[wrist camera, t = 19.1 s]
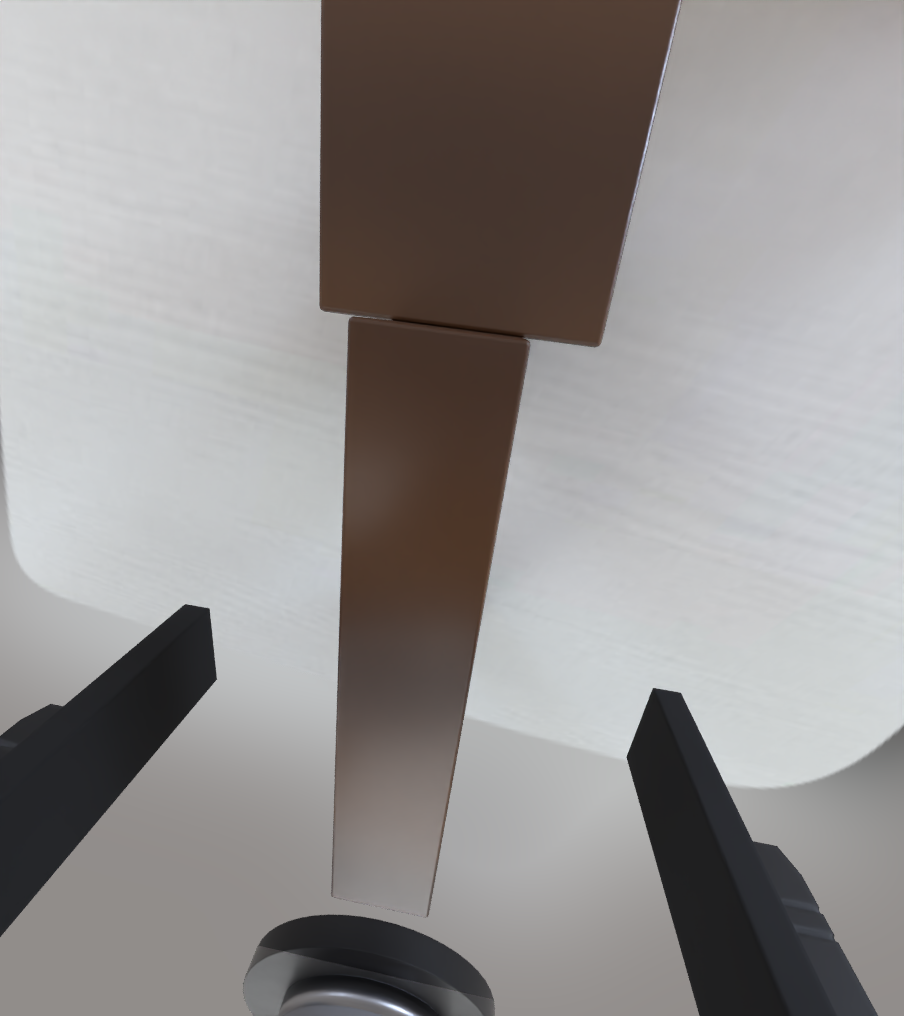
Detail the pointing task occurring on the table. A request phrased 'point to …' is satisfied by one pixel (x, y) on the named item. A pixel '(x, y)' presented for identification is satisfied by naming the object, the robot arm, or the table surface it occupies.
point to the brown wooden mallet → (453, 345)
